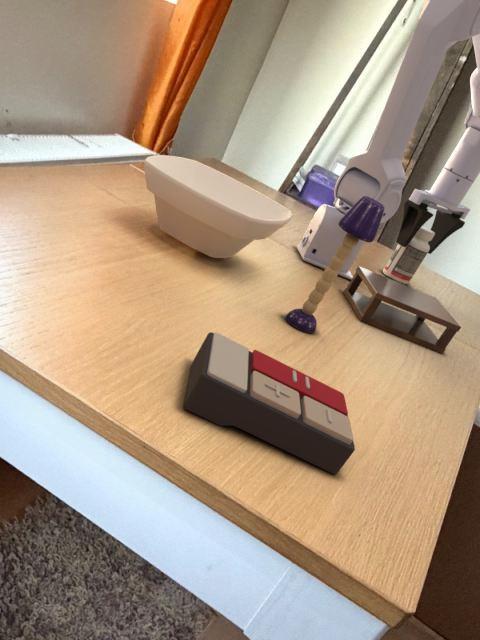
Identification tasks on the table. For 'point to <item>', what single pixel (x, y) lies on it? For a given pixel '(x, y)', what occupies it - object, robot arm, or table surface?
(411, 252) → the pill bottle
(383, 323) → the rack
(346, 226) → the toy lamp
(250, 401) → the calculator
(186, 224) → the bowl
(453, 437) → the table surface
